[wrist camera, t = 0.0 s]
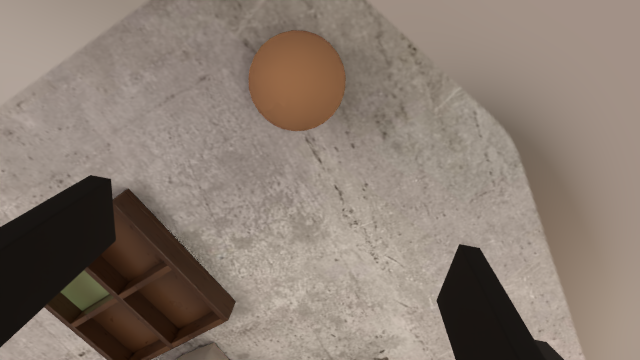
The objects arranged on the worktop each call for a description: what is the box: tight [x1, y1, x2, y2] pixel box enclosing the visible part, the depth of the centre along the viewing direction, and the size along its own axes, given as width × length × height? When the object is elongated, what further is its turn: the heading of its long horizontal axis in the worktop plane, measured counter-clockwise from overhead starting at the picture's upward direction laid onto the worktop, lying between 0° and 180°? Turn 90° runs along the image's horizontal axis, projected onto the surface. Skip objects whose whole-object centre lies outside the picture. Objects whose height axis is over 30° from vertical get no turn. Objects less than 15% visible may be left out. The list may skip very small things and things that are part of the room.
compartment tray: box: [44, 189, 236, 360], centre depth 36 cm, size 16×16×3 cm
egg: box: [249, 30, 346, 131], centre depth 23 cm, size 6×6×8 cm
